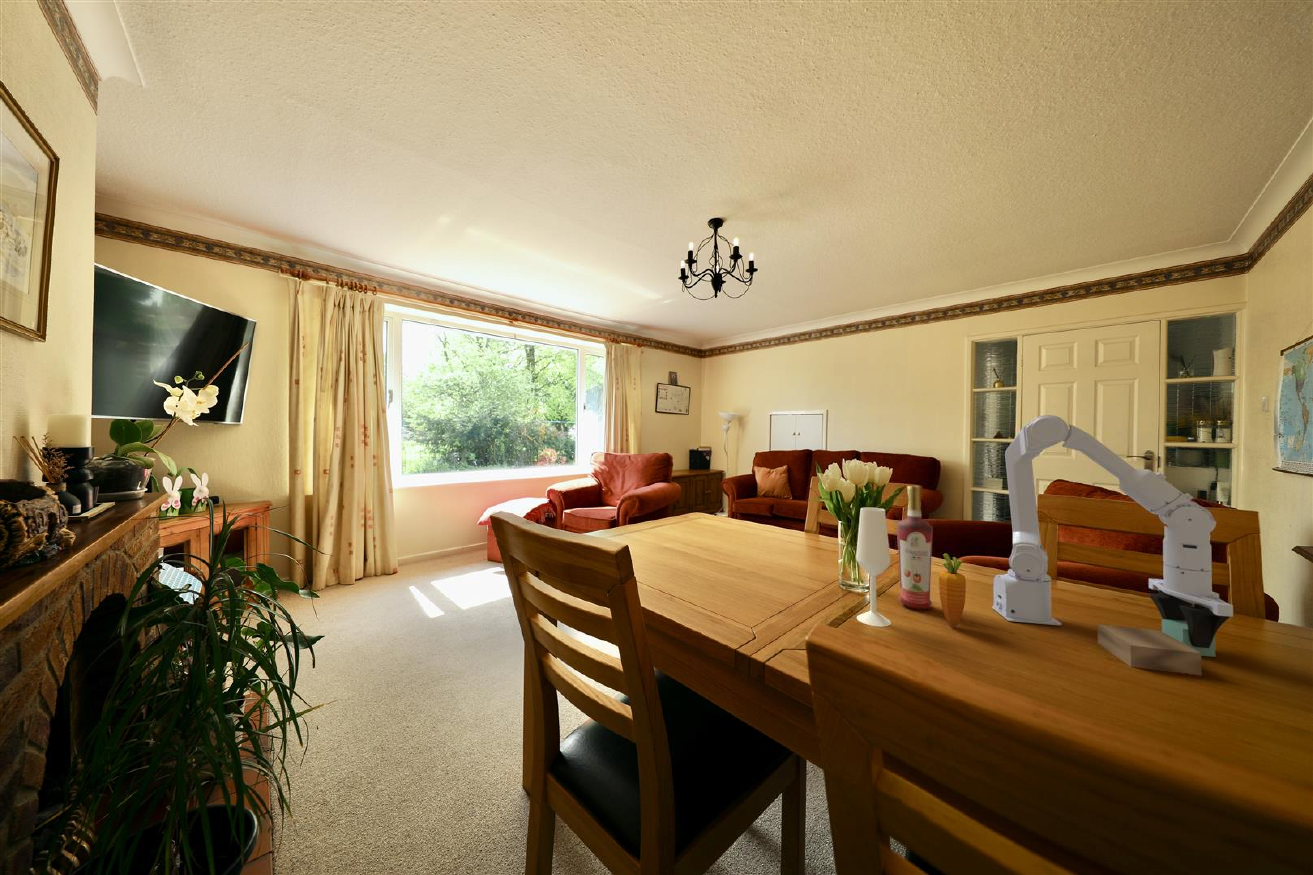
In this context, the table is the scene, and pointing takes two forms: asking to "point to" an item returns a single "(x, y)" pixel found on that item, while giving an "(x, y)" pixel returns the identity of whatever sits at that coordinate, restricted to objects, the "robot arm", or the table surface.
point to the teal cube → (1185, 635)
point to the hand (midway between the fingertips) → (1187, 640)
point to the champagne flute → (873, 557)
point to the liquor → (914, 554)
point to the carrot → (952, 591)
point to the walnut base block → (1149, 649)
